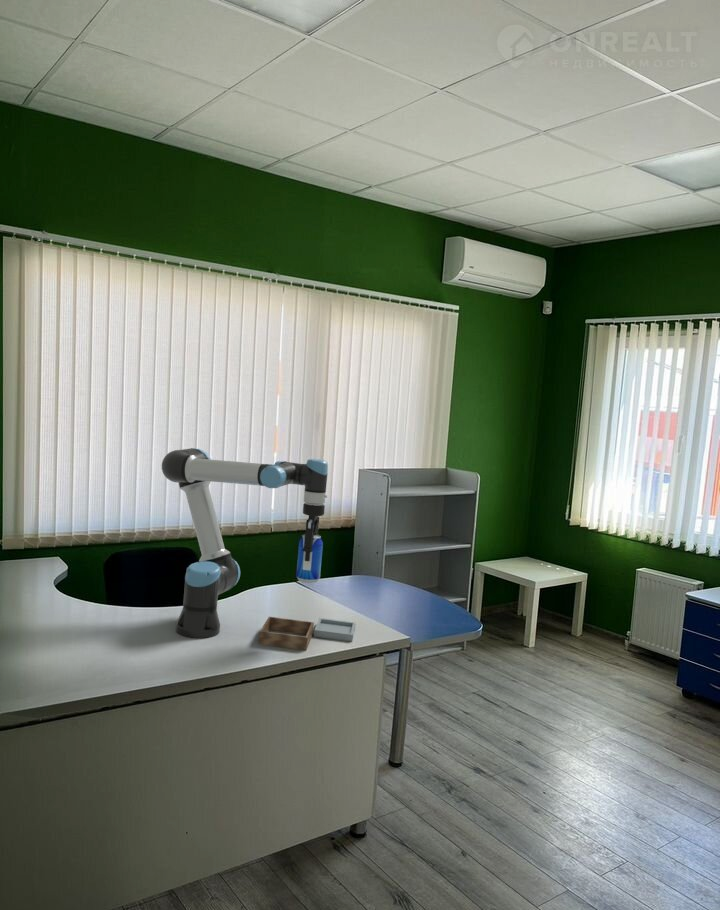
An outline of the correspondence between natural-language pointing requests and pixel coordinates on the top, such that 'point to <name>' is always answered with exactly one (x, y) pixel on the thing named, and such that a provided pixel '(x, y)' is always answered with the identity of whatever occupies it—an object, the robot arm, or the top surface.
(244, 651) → the top surface
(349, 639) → the tray
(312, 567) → the beer can
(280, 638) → the crate
